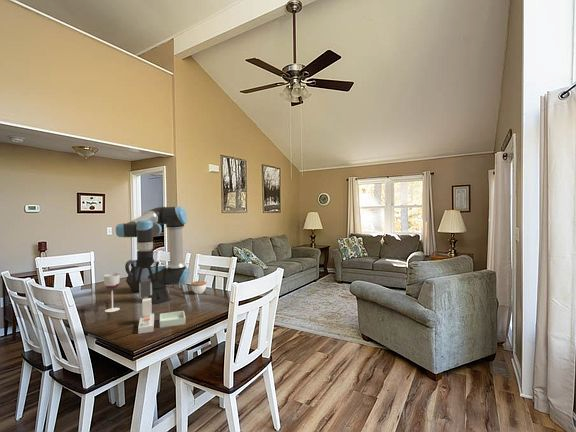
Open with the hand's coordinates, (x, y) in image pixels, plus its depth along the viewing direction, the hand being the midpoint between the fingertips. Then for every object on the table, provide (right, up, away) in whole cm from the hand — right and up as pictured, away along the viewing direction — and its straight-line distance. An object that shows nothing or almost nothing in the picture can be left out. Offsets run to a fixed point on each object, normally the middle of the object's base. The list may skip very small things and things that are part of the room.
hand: (145, 294), depth 157 cm
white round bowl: (+7, -17, +70) cm, 72 cm away
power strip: (-4, -18, +9) cm, 21 cm away
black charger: (0, -2, 0) cm, 2 cm away
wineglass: (-36, -18, +32) cm, 52 cm away
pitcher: (-40, -17, +76) cm, 87 cm away
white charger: (-5, -15, +12) cm, 20 cm away
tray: (+10, -18, +11) cm, 23 cm away
